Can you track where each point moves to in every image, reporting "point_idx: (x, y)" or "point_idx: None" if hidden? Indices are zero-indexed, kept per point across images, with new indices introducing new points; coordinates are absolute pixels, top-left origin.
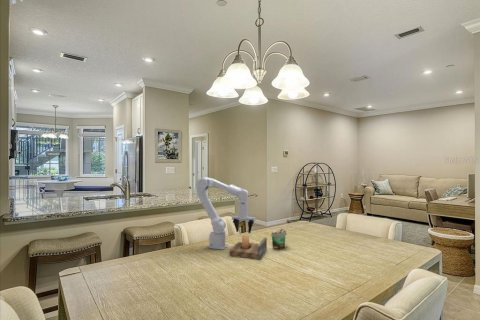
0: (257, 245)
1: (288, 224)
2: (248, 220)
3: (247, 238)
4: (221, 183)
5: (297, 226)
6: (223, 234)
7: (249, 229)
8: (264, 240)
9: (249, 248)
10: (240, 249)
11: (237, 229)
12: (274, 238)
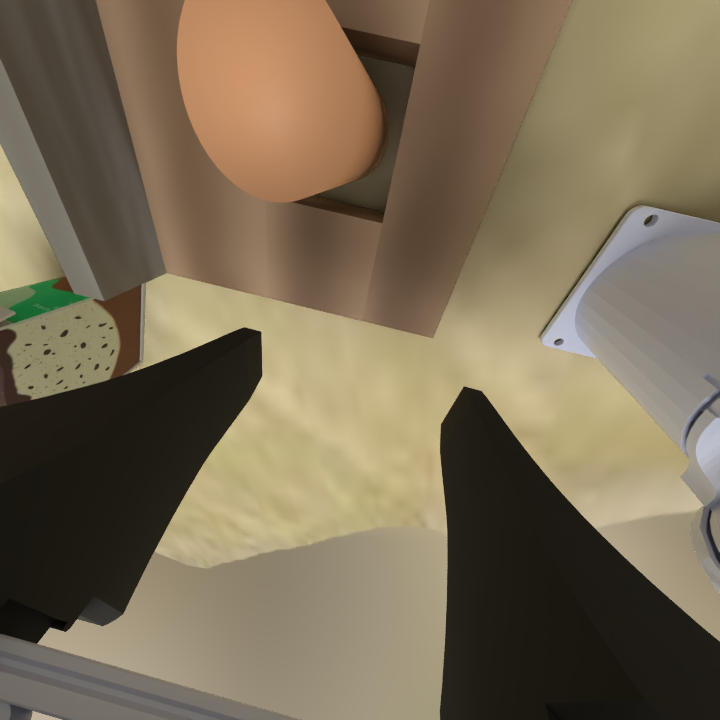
0: (212, 230)
1: (229, 559)
2: (23, 654)
3: (200, 1)
4: None
5: (191, 542)
6: None
7: (189, 354)
8: (7, 155)
9: (304, 198)
10: None
11: (470, 425)
12: (17, 299)
